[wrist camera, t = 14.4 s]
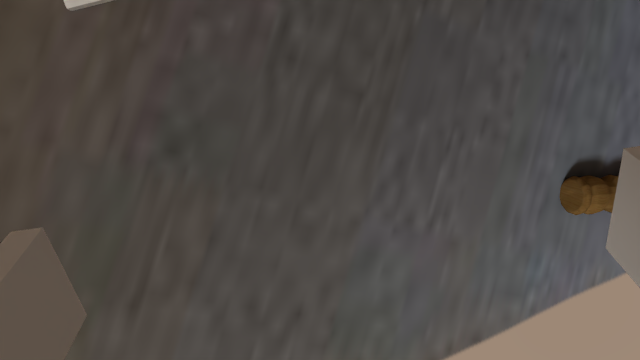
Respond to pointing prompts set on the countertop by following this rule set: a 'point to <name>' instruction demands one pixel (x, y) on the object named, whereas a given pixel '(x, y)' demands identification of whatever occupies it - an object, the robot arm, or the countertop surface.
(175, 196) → the countertop surface
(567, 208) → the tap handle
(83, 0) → the trivet
